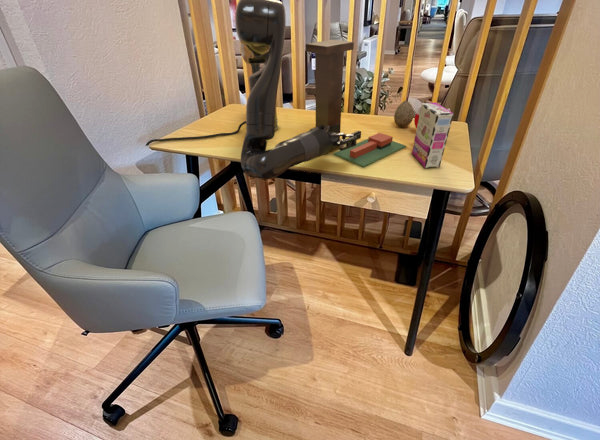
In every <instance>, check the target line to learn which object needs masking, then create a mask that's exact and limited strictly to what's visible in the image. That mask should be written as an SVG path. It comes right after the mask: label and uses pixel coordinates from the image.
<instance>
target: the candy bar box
mask: <svg viewBox="0 0 600 440" xmlns="http://www.w3.org/2000/svg"><path fill="white" fill-rule="evenodd" d="M420 106H421V110H420V115H419V119H418V125H417V129H416V131H415V135H414V140H413V146H412V150H411V155H412V156H413V157H414V158H415V159H416V161H418V163H420V164H421V166H422V167H423V168H424V169H439V168H440V167H441V163H442V160H443V156H444V152H445V149H446V145H447V141H448V138H449V133H450V130H451V126H452V122H453V118H454V114H455V113H454V112H452V111H451V110H450V111H451V112H450V111H449V110H447V109H448V108H446V107H444V105H443V106H442V105H440V104H439V103H438V102H423V103H421V104H420Z"/></svg>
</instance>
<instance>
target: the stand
mask: <svg viewBox="0 0 600 440" xmlns="http://www.w3.org/2000/svg"><path fill="white" fill-rule="evenodd" d="M354 45H355V44H354V41H349V40H340V39H327V40H322V41H316V42H308V43H305V52H306V53H312V54H314V60H315V61H314V65H315V66H314V69H315V70H314V71H315V73H314V76H315V80H314V81H315V82H314V83H315V85H314V87H315V91H314V93H315V94H314V95H315V96H314V97H315V98H314V99H315V127H317V126H320V125H324V127H326V126H332V125H335V124H340V127H341V124H342V103H343V102H342V100H343V75H344V55H345V52H348V51H353V50H354V48H355V47H354ZM335 133H341V129H340V130H339V131H338V132H335ZM341 140H342V138H340V141H341ZM340 141H339V142H340ZM339 148H340V147H338V146H336V147H331V148H330V149H329V151H328V152H327V153H326V154H324V156H325V155H328V154H330V153H333V152H336V151H339Z"/></svg>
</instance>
